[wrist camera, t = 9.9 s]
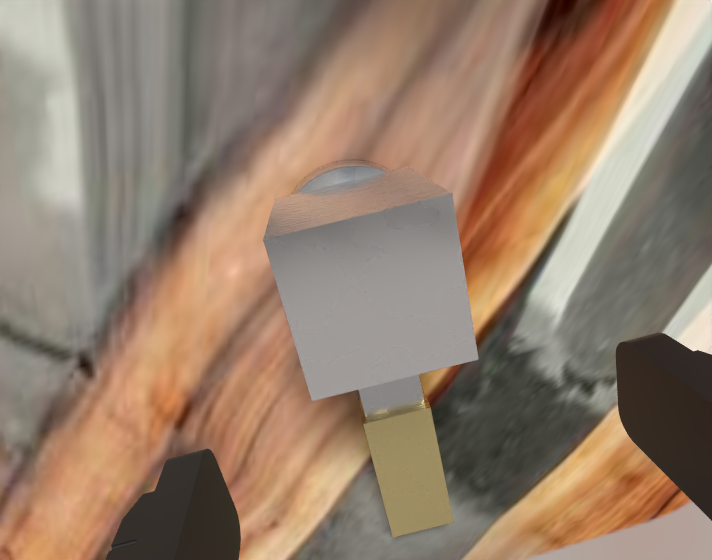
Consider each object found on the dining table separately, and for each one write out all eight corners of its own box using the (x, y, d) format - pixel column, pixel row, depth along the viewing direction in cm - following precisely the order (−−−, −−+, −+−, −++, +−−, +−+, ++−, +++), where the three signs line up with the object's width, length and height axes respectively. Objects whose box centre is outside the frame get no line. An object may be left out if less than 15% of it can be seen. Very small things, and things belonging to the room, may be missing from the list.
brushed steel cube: (431, 290, 23) (478, 359, 17) (309, 321, 23) (312, 401, 17) (408, 166, 21) (452, 193, 15) (275, 199, 21) (263, 239, 15)
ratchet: (469, 484, 31) (517, 596, 24) (359, 512, 31) (376, 633, 24) (407, 144, 24) (450, 162, 17) (263, 179, 24) (247, 211, 17)
